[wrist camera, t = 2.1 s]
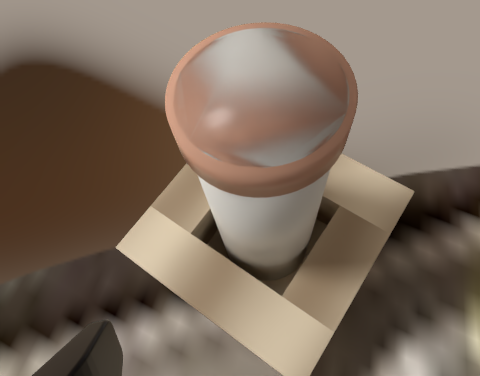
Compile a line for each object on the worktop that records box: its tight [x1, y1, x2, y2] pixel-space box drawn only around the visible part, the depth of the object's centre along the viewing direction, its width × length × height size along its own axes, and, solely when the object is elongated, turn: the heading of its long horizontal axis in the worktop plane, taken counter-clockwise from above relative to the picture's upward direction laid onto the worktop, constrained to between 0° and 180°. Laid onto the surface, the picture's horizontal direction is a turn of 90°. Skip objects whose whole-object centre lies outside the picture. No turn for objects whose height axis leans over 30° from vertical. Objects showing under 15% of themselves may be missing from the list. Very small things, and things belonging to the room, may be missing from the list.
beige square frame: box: [116, 153, 415, 376], centre depth 19 cm, size 10×10×4 cm
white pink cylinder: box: [165, 23, 358, 281], centre depth 15 cm, size 5×5×12 cm
